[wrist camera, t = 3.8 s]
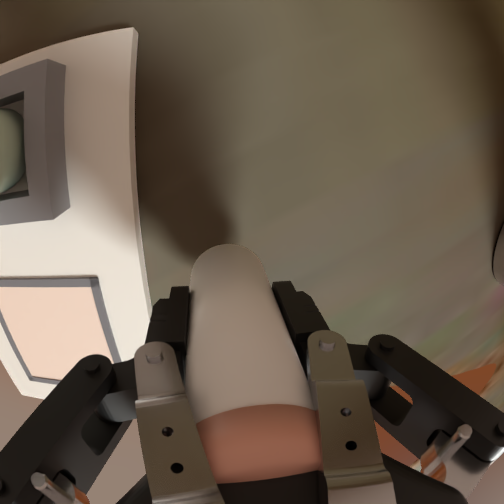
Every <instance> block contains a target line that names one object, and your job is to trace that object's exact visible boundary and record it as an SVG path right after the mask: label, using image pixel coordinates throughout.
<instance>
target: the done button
mask: <svg viewBox="0 0 504 504" xmlns="http://www.w3.org/2000/svg"><path fill="white" fill-rule="evenodd" d="M25 170H26V162H25V147H24V119H23V117H22V116H21V115H20V114H19V113H18V112H16V111H15V110H12V109H8V108H0V193H2V192H4V191H6V190H8V189H10V188H12V187H13V186H15V185H16V184H17V183H18V182H19V180H20V179H21V178H22V176H23V174H24V172H25Z"/></svg>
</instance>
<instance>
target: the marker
mask: <svg viewBox="0 0 504 504" xmlns="http://www.w3.org/2000/svg"><path fill="white" fill-rule="evenodd" d="M184 390H185V392H186V395H187V398H188V401H189V405H190V408H191V411H192V415H193V418H194V421H195V424H196V427H197V430H198V434H199V437H200V440H201V443H202V446H203V448H204V451H205V454H206V457H207V460H208V463H209V465H210V468H211V471H212V473H213V476H214V479H215V481H216V484H222V483H236V482H247V481H257V480H265V479H272V478H279V477H285V476H291V475H296V474H301V473H306V472H311V471H316V470H318V467H319V465H320V463H321V456H320V447H319V438H318V431H317V423H316V416H315V411H314V409H313V402H312V397H311V392H310V388H309V384H308V381H307V378H306V375H305V373H304V370H303V368H302V365H301V363H300V360H299V357H298V355H297V352H296V350H295V347H294V345H293V342H292V339H291V337H290V334H289V332H288V329H287V327H286V324H285V321H284V319H283V316H282V314H281V311H280V309H279V306H278V304H277V301H276V298H275V296H274V293H273V291H272V288H271V286H270V283H269V281H268V278H267V275H266V273H265V270H264V268H263V265H262V263H261V261H260V259H259V258H258V257H257V256H256V255H255V253H253V252H252V251H251V250H249V249H247V248H246V247H243V246H240V245H236V244H221V245H217V246H214V247H212V248H210V249H208V250H206V251H205V252H203V253H202V254H201V255H200V256H199V257H198V258H197V260H196V261H195V263H194V265H193V267H192V271H191V279H190V300H189V315H188V332H187V354H186V360H185V387H184Z"/></svg>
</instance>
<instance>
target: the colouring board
mask: <svg viewBox="0 0 504 504" xmlns="http://www.w3.org/2000/svg"><path fill="white" fill-rule="evenodd" d="M138 35H139V34H138V33H137V31H136V30H135V28H134V27H131V28H124V29H118V30H112V31H107V32H102V33H97V34H92V35H88V36H84V37H80V38H76V39H72V40H68V41H65V42H61V43H58V44H54V45H51V46H48V47H45V48H42V49H39V50H36V51H33V52H30V53H27V54H25V55H22V56H20V57H17V58H14V59H12V60H10V61H7V62H5V63H3V64H0V108H8V109H12V110H15V111H16V112H18V113H19V114H20V115H21V116H22V117H23V119H24V147H25V162H26V170H25V172H24V174H23V176H22V178H21V179H20V180H19V182H18V183H17V184H16V185H15V186H13V187H12V188H10V189H8V190H6V191H4V192H2V193H0V359H1V361H2V363H3V365H4V367H5V368H6V370H7V372H8V374H9V375H10V377H11V378H12V380H13V382H14V383H15V385H16V387H17V388H18V390H19V391H20V393H21V394H22V395H25V396H30V397H35V398H40V399H45V398H46V397H47V396H48V395H49V393H50V392H51V391H52V390H53V389H54V388H55V387H56V386H57V384H58V383H59V382H60V381H61V380H62V379H63V378H64V377H65V376H66V374H67V373H68V372H69V371H70V370H71V369H72V368H73V367H74V366H75V365H76V363H77V362H78V361H79V360H81V359H82V358H84V357H86V356H88V355H92V354H100V355H104V356H106V357H108V358H109V359H110V361H111V363H112V364H114V363H119V362H123V361H127V360H130V359H132V358H134V354H135V352H136V350H137V349H138V348H139V347H140V346H142V345H144V344H145V340H146V335H147V331H148V326H149V322H150V318H151V314H152V306H151V300H150V294H149V288H148V281H147V275H146V268H145V260H144V253H143V244H142V236H141V226H140V216H139V205H138V192H137V176H136V155H135V81H136V61H137V47H138Z"/></svg>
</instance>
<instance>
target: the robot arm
mask: <svg viewBox="0 0 504 504" xmlns="http://www.w3.org/2000/svg"><path fill="white" fill-rule="evenodd" d="M493 271H494V276H495V279H496V280H497V281H498V282H499V283H500V284H502V285H503V286H504V224H503V227H502V230H501V232H500V235H499V238H498V241H497V245H496V249H495V254H494V261H493ZM272 291H273V293H274V296H275V298H276V301H277V304H278V306H279V309H280V311H281V314H282V316H283V319H284V321H285V324H286V327H287V329H288V332H289V334H290V337H291V339H292V342H293V345H294V347H295V350H296V352H297V355H298V357H299V360H300V363H301V365H302V368H303V370H304V373H305V375H306V378H307V381H308V384H309V388H310V392H311V397H312V402H313V409H314V411H315V416H316V423H317V431H318V438H319V447H320V456H321V463H320V465H319V467H318V470H316V471H311V472H306V473H301V474H296V475H291V476H285V477H279V478H272V479H265V480H257V481H247V482H236V483H222V484H216V481H215V479H214V476H213V473H212V471H211V468H210V465H209V463H208V460H207V457H206V454H205V451H204V448H203V446H202V443H201V440H200V437H199V434H198V430H197V427H196V424H195V421H194V418H193V415H192V411H191V408H190V405H189V401H188V398H187V395H186V392H185V390H184V387H185V360H186V354H187V332H188V315H189V300H190V289H189V286H178V287H171V292H170V298H169V299H159V300H158V301H157V302H156V304H155V305H154V306H153V309H152V314H151V318H150V322H149V326H148V331H147V335H146V340H145V344H144V345H142V346H140V347H139V348H138V349H137V350H136V352H135V354H134V358H132V359H130V360H127V361H123V362H119V363H114V364H112V363H111V361H110V359H109V358H108V357H106V356H104V355H100V354H92V355H88V356H86V357H84V358H82V359H81V360H79V361H78V362H77V363H76V365H75V366H74V367H73V368H72V369H71V370H70V371H69V372H68V373H67V374H66V376H65V377H64V378H63V379H62V380H61V381H60V382H59V383H58V384H57V386H56V387H55V388H54V389H53V390H52V391H51V392H50V393H49V395H48V396H47V397H46V398H45V399H44V400H43V402H42V403H41V404H40V405H39V406H38V407H37V408H36V410H35V411H34V412H33V413H32V414H31V415H30V417H29V418H28V419H27V420H26V421H25V422H24V424H23V425H22V426H21V427H20V428H19V430H18V431H17V432H16V433H15V435H14V436H13V437H12V438H11V440H10V441H9V442H8V443H7V445H6V446H5V447H4V448H3V450H2V451H1V452H0V504H90V501H89V499H88V497H87V496H86V494H87V492H88V491H89V489H90V488H91V486H92V484H93V483H94V481H95V480H96V477H97V476H98V475H99V473H100V472H101V470H102V468H103V467H104V465H105V464H106V462H107V460H108V459H109V457H110V456H111V454H112V452H113V451H114V449H115V448H116V446H117V444H118V443H119V441H120V440H121V438H122V437H123V435H124V433H125V432H126V430H127V429H128V427H129V426H130V424H131V422H132V420H133V419H136V418H137V422H138V429H139V435H140V442H141V448H142V453H143V459H144V464H145V469H146V474H145V475H144V476H143V477H142V478H141V479H140V480H139V481H138V482H137V483H136V485H135V486H133V487H132V488H131V489H130V490H129V491H128V492H127V493H126V494H125V495H124V496H123V497H122V498H121V499H120V500H119V501H118V502H117V503H116V504H468V502H467V500H466V499H467V498H468V497H469V495H470V494H471V492H472V491H473V490H474V488H475V486H476V485H477V484H478V482H479V481H480V480H481V478H482V476H483V475H484V473H485V472H486V470H487V469H488V467H489V466H490V465H491V464H492V463H493V462H494V461H495V460H496V459H497V458H498V457H500V455H502V454H503V453H504V413H503V412H501V411H500V410H499V409H497V408H496V407H494V406H493V405H492V404H490V403H489V402H487V401H486V400H485V399H483V398H482V397H480V396H479V395H477V394H476V393H475V392H473V391H472V390H470V389H469V388H468V387H466V386H465V385H463V384H462V383H460V382H459V381H458V380H456V379H455V378H453V377H452V376H450V375H449V374H448V373H446V372H445V371H443V370H442V369H440V368H439V367H438V366H436V365H435V364H433V363H432V362H430V361H429V360H427V359H426V358H425V357H423V356H422V355H420V354H419V353H417V352H416V351H414V350H413V349H412V348H410V347H409V346H407V345H406V344H404V343H403V342H401V341H400V340H399V339H397V338H395V337H393V336H390V335H385V334H380V335H376V336H373V337H372V338H371V339H370V341H369V343H368V345H355V344H348V343H346V340H345V339H344V337H343V336H342V335H340V334H338V333H336V332H334V331H330V329H329V327H328V326H327V324H326V322H325V320H324V319H323V317H322V315H321V313H320V312H319V310H318V308H317V306H315V303H314V301H313V299H312V298H311V297H310V296H309V295H307V294H306V293H305V292H303V291H299V292H296V290H295V288H294V286H293V284H292V283H291V281H280V282H273V284H272ZM391 381H392V382H393V383H394V384H396V385H397V386H399V387H400V388H401V389H402V390H403V391H405V392H406V393H407V394H408V395H410V397H411V398H412V401H413V405H412V404H411V403H409V402H408V401H407V400H406V399H404V398H403V397H402V396H401V395H400V394H398V393H397V392H396V391H394V390H393V389H392V388H391V387H389V386H390V384H391ZM374 420H375V421H376V422H377V423H378V424H379V425H380V426H381V427H383V428H384V429H385V430H386V431H387V432H388V433H389V434H391V435H392V436H393V437H394V438H395V439H396V440H398V441H399V442H400V443H401V444H402V445H403V446H405V447H406V448H407V449H408V450H409V451H410V452H412V453H413V454H414V455H415V456H416V457H417V458H419V459H420V464H421V470H420V472H419V471H417V470H414V469H412V468H410V467H408V466H406V465H404V464H402V463H400V462H398V461H396V460H394V459H392V458H391V457H389V456H387V455H385V454H383V453H381V450H380V445H379V440H378V436H377V432H376V427H375V423H374Z"/></svg>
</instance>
